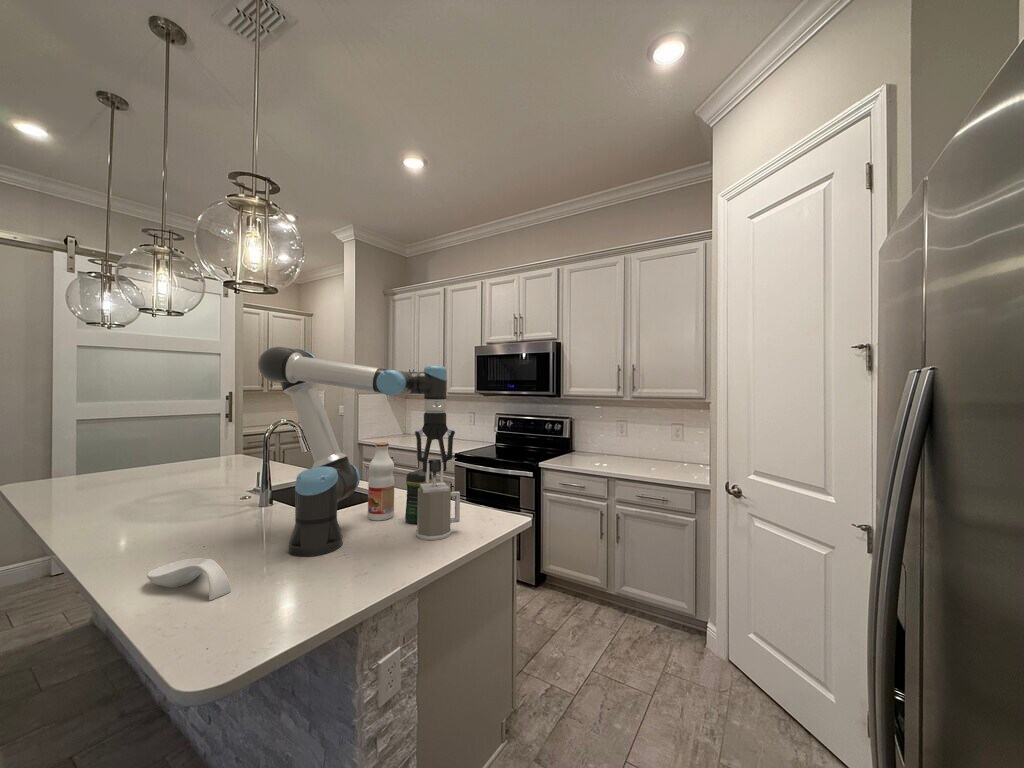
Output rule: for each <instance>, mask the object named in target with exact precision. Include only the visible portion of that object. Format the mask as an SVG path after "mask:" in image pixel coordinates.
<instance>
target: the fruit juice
mask: <svg viewBox="0 0 1024 768" xmlns="http://www.w3.org/2000/svg"><path fill="white" fill-rule="evenodd" d="M374 446H375V453H374V456H373V458H372V460H371V461H370V463H369V464H368V470H369V477H368V482H367V483H368V484H367V486H368V488H367V489H368V490H367V493H368V494H367V517H368V519H369V520H371V521H384V520H390V519H392V518H393V517H394V515H395V477H394V476H395V475H394V470H395V463H394V461H393V460H392V459H393V458H391V457H390V453H389V447H390V444H389V442H385V441H381V442H380V441H379V442H376V443H375V444H374Z"/></svg>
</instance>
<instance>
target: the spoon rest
mask: <svg viewBox="0 0 1024 768" xmlns="http://www.w3.org/2000/svg"><path fill="white" fill-rule="evenodd" d="M202 573H205V575H206V577H207V579H208V584H209V585H208V599H209V601H213V600H216V599H218V598H220V597H222V596H225V595H227V594H229V593H230V592H231V590H232V588H231V584H230V581H229V578H228V576H227V575H226V573H225V571H224V569H223V568H222V567H221V566H220V565H219V564H218V563H217V562H216V561H215V560H214V559H211V558H204V557H193V558H185V559H181V560H176V561H172V562H169V563H167V564H164V565H161V566H158V567H156V568H153V569H152V570H150V571H149V572H148V573H147V574H146V577H147V579H148V580H149V581H150V582H151V583H153V584H155V585H157V586H161V587H164V588H176V587H181V586H184V585H188V584H190V583H192V582H193V581H194V580H195V579H197V577H199V576H200V575H201V574H202Z"/></svg>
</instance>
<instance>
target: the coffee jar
mask: <svg viewBox="0 0 1024 768" xmlns="http://www.w3.org/2000/svg"><path fill="white" fill-rule="evenodd" d="M405 480H406V506H405V514H404V515H405V517H404V520H405V522H407V523H409V524H417V507H418V488H420V484H426V483H427V482H426V472H423V468H420V469H418V470H414V471H410V472H408V473H406V479H405ZM429 483H433V472H430V471H429Z"/></svg>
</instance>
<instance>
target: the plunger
mask: <svg viewBox="0 0 1024 768" xmlns="http://www.w3.org/2000/svg"><path fill="white" fill-rule="evenodd" d="M441 461H442V459H440V458H430V459H428V462H429V471H430V472H431V473H432V483H433V484H432V487H436V483H437V473H438V472H440V471H441Z"/></svg>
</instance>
